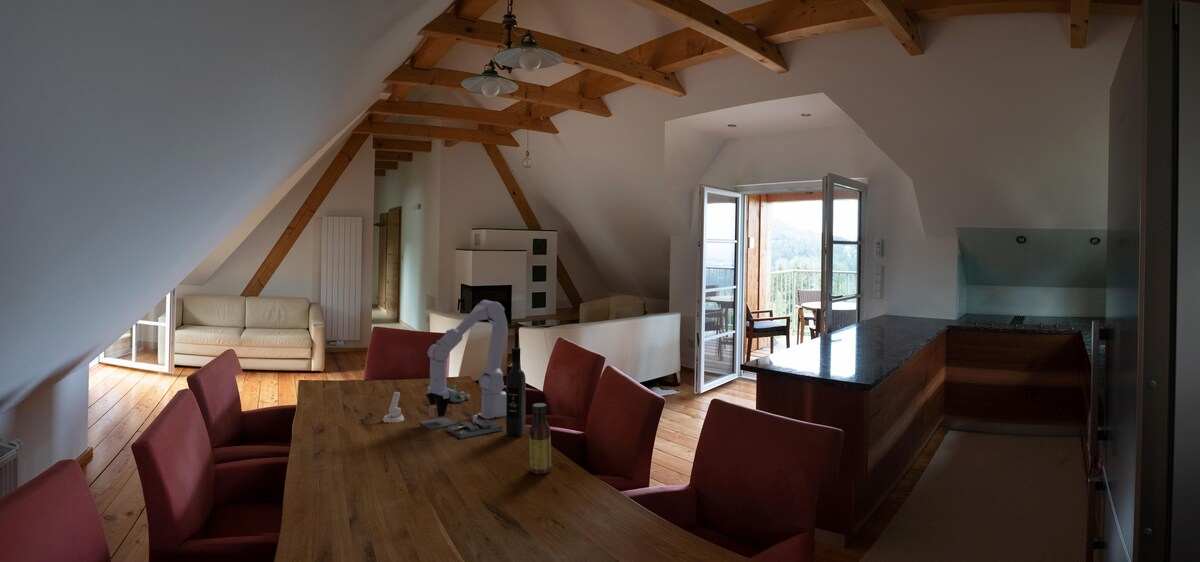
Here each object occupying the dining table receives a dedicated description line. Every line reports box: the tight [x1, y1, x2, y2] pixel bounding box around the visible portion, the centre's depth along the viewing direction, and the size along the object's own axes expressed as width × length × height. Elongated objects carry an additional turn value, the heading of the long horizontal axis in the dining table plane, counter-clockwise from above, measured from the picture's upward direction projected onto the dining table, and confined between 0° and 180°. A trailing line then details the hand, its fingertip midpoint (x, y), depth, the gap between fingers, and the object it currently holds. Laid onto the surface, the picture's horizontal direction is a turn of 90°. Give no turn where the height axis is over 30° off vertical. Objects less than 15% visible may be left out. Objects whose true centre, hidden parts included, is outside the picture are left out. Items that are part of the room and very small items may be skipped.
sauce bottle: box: [528, 402, 552, 475], centre depth 187 cm, size 7×6×20 cm
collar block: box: [428, 404, 448, 419], centre depth 233 cm, size 5×5×4 cm
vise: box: [446, 414, 504, 440], centre depth 226 cm, size 17×11×6 cm, turn 128°
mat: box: [419, 417, 458, 431], centre depth 234 cm, size 10×10×1 cm
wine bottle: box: [505, 347, 526, 438], centre depth 222 cm, size 6×6×30 cm
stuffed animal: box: [446, 384, 471, 404], centre depth 268 cm, size 11×7×12 cm
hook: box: [382, 391, 405, 424], centre depth 241 cm, size 8×12×7 cm
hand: (438, 414), depth 234 cm, fingers closed on collar block, 5 cm apart
